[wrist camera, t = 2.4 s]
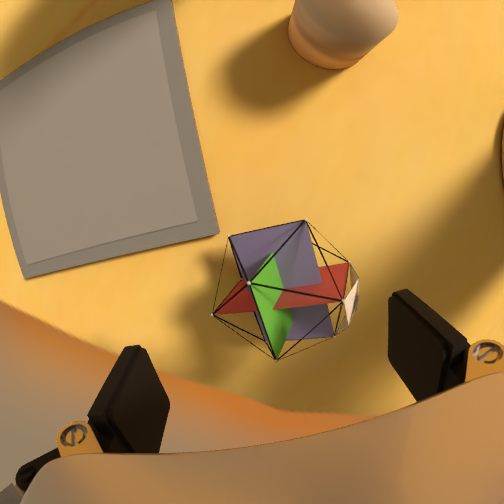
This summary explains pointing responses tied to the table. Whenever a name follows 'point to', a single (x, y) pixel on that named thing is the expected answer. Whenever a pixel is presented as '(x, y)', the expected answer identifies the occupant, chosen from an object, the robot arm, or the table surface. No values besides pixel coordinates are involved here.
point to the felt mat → (103, 146)
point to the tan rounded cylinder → (339, 29)
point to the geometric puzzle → (287, 285)
